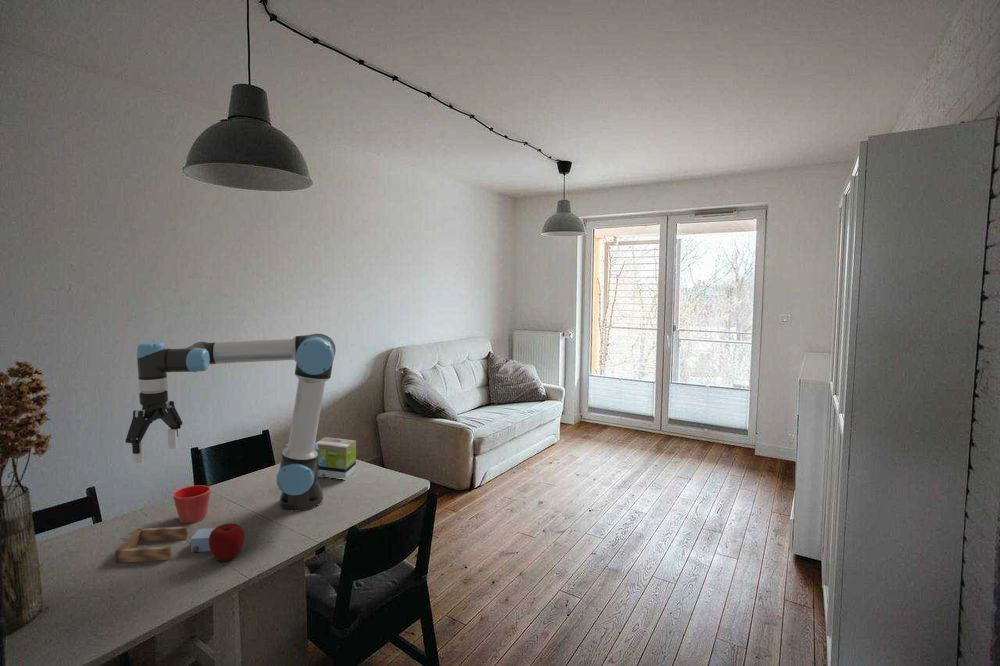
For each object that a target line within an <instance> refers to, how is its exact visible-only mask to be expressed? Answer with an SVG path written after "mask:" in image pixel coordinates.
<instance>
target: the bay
mask: <svg viewBox="0 0 1000 666" xmlns="http://www.w3.org/2000/svg"><path fill="white" fill-rule="evenodd" d="M188 538H189V526H171V527H168V526H167V527H152V528H151V527H150V528H138V529H137V530H136V531H135V532H134V533H132V535H131V536H130V537H129V538H128V539H126V540H125V541H124V542H123V543H122V544H121V545H120V546H119V547H118V548H117V549H116V550H115V552H114V554H115V564H120V563H135V562H149V561H151V562H154V561H169V560H171V559H172V546H171V545H170V546H169V545H168V546H155V547H152V546H151V547H137V546H138V545H139V544H140V543H142V542H145V541H146V542H149V541H150V542H151V541H152V542H153V541H169V540H170V541H171V540H186V539H188ZM136 547H137V548H136Z"/></svg>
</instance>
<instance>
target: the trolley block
mask: <svg viewBox="0 0 1000 666" xmlns="http://www.w3.org/2000/svg"><path fill="white" fill-rule="evenodd" d="M215 528H216V527H214V528H199V529H197V530H196V532H195V533H194V535H192V537H191V538H190V553H200V552H211V550H210V547H209V536H210V534H211V532H212V531H213V530H214V529H215Z"/></svg>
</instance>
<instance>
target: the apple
mask: <svg viewBox="0 0 1000 666" xmlns="http://www.w3.org/2000/svg"><path fill="white" fill-rule="evenodd" d="M214 528H215V529H214V530H213V531H212V532H211V534H210V536H209V547H210V550H211V551H210V552H211V554H212V556H213V557H214V558H215V559H216V560H218V561H219V562H229V561H230V560H232V559H234V558H235V557H237V556H238V555H239V554H240V552H241V551H242V548H243V547H244V544H245V539H246V536H245V535H246V532H245V530H244V527H243V526H241V525H240V524H238V523H233V522H232V523H231V522H230V523H229V522H228V523H225V524H221V525H219V526H216V527H214Z"/></svg>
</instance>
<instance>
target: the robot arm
mask: <svg viewBox="0 0 1000 666" xmlns="http://www.w3.org/2000/svg"><path fill="white" fill-rule="evenodd" d="M136 348H137V349H136V362H137V373H138V376H137V377H138V390H139V394H138V397H139V404H140V405H141V408H142V409H141V410H138V409H137V410H133V412H132V419H131V423H130V426H129V428H128V432H127V435H126V437H125V443H126V444H131V445H132V446H131V447H132V454H133V459H134V462H133V463H135V464H144V463H145V452H144V448H145V447H144V442H142V440H143V438H144V437H145V435H146V433H147V431H148V429H149V426H150V425H151V424H152V423H153V422H155V421H156V420H162V421H163V422H164V423H165V425H166V426H167V427H169V428H168V429H167V442H168V449H172V450H173V449H174V450H176V449H179V448H178V446H179V445H178V437H179V434H178V433H179V431H178V430H180V429H181V426H182V425H184V424H183V421H182V418H181V417H180V414H179V413H178V411H177V409H176V407H175V401H174V400H169V396H168V394H169V393H168V390H167V389H168V375H167V374H168V373H197V372H205V371H207V370H208V369H209V366H210V365H218V364H236V363H238V364H239V363H258V362H259V363H260V362H275V361H277V362H278V361H294V362H296V363H295V370H294V376H295V377H296V378H297V379H298V380H297V381H298V382H297V386H296V387H297V388H296V394H295V400H294V406H293V412H292V413H293V414H292V420H291V427H290V432H289V437H288V438H289V439H288V443H286V444H285V445H284V449H283V450H282V452H281V458H280V464H279V471H278V472H277V474H276V484H277V487H278V488H279V490H281V493H280V494H281V495H280V498H279V506H280V508H281V509H283V510H286V511H290V510H293V511H292V512H296V511H295V510H301V511H306V510H305V509H307V510H310V509H309V508H311V509H313V508H312V507H314V506H316V505H318V504H320V503H321V502H322V500H323V501H324V494H323V493H324V492H323V490H322V488H321V487H322V486H321V485H320V482H319V477H318V450H319V449H318V444H317V443H316V440H317V433H318V427H319V422H320V416H321V408H322V403H323V397H324V390H325V385H326V382H328V381H329V380H330V379H331V376H332V371H333V364H334V359H335V356H336V345H335V342H334V341H333V339H332V338H331V337H329V336H328V335H326V334H323V333H312V334H306V335H295V336H294V337H292V338H286V339H281V338H280V339H263V340H260V339H259V340H258V339H257V340H243V341H242V340H240V341H220V342H219V341H217V342H208V341H197V342H195V343H193V344H192V345H189V346H187V347H185V348H168V347H167V346H166V344H165V343H164V342H162V341H161V342H160V341H148V342H142V343H139V344H137V347H136ZM322 503H323V502H322ZM322 503H321V504H322ZM321 504H320V505H321ZM318 506H319V505H318ZM316 507H317V506H316ZM314 508H315V507H314Z"/></svg>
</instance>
